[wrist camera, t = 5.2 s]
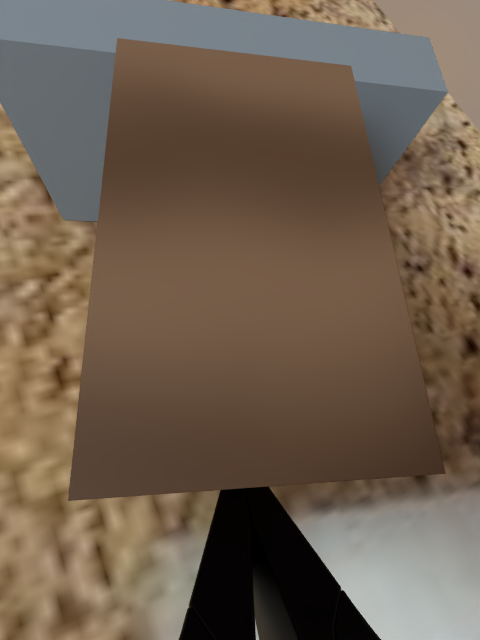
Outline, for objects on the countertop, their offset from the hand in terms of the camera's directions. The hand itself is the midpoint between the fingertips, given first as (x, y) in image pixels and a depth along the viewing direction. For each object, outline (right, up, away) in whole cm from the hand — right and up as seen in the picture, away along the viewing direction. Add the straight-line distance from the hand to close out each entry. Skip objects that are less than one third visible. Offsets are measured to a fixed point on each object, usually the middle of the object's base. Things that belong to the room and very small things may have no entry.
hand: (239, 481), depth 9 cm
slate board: (-2, +11, +11) cm, 16 cm away
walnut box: (-1, +3, +8) cm, 9 cm away
